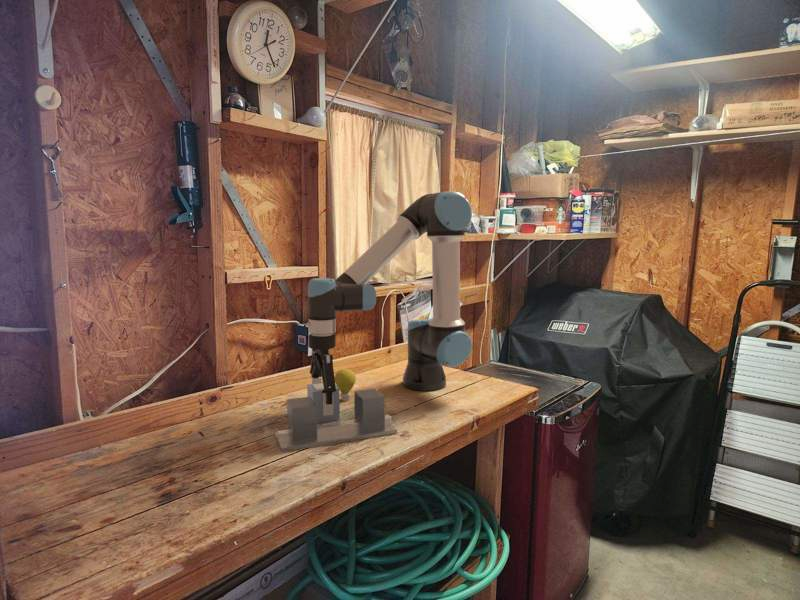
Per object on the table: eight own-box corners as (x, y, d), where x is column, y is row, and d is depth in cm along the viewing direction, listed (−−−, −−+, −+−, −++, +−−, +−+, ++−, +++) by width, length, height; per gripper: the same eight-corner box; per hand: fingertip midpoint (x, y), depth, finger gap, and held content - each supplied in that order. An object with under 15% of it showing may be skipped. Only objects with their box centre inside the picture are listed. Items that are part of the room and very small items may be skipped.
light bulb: (345, 404, 152) (345, 373, 151) (330, 400, 156) (329, 369, 155) (360, 399, 157) (360, 368, 156) (345, 394, 161) (344, 365, 160)
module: (333, 411, 147) (332, 380, 146) (339, 419, 140) (339, 387, 139) (307, 414, 144) (307, 383, 143) (313, 423, 137) (312, 390, 136)
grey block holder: (383, 420, 140) (383, 385, 138) (397, 433, 130) (397, 396, 129) (275, 436, 128) (273, 399, 127) (281, 452, 119) (280, 412, 118)
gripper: (299, 326, 149) (300, 395, 151) (319, 343, 126) (319, 423, 129) (324, 325, 152) (324, 392, 154) (347, 341, 129) (347, 420, 131)
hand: (322, 407), depth 141 cm, fingers open, 13 cm apart
